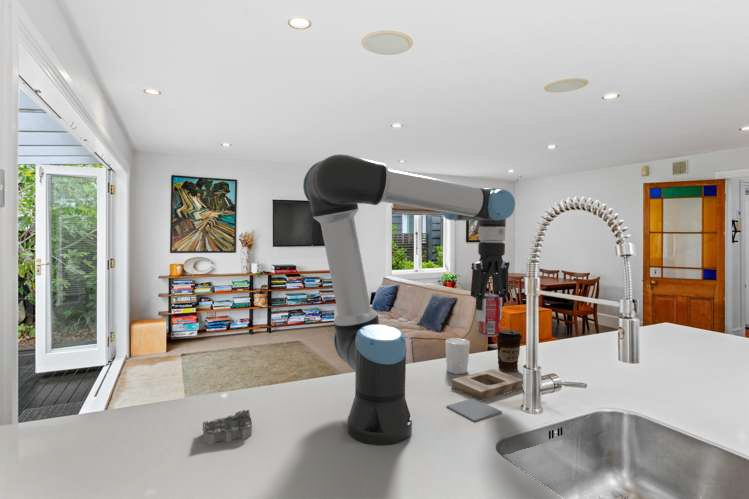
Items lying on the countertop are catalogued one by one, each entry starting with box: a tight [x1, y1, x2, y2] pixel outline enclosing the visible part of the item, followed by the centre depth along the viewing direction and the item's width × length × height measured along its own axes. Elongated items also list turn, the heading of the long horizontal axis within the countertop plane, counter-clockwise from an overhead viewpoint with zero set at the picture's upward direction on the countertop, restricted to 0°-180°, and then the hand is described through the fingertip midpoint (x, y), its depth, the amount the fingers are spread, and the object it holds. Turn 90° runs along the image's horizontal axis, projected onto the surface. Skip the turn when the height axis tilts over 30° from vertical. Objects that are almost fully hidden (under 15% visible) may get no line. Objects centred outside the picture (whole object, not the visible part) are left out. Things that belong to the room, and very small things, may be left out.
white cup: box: [445, 337, 471, 375], centre depth 142 cm, size 8×8×10 cm
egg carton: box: [202, 409, 253, 446], centre depth 97 cm, size 11×8×4 cm
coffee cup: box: [495, 329, 523, 373], centre depth 144 cm, size 9×8×13 cm
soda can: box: [477, 292, 501, 338], centre depth 126 cm, size 6×6×12 cm
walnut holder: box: [451, 368, 524, 402], centre depth 127 cm, size 18×12×2 cm, turn 123°
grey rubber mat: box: [446, 397, 503, 423], centre depth 112 cm, size 10×10×1 cm
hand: (489, 319), depth 126 cm, fingers closed on soda can, 6 cm apart
